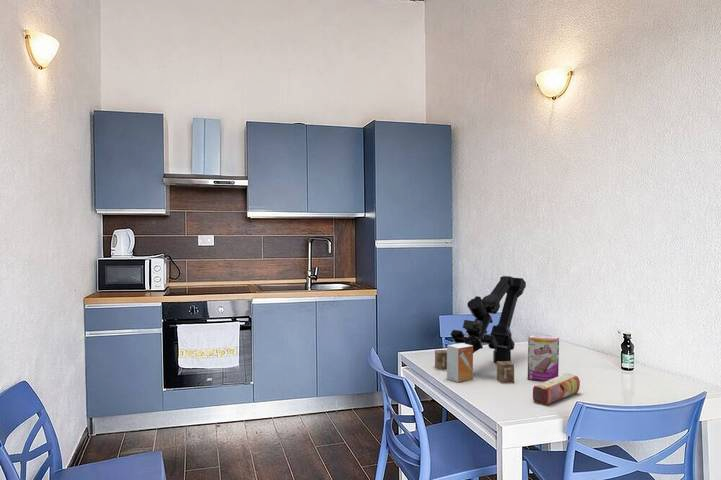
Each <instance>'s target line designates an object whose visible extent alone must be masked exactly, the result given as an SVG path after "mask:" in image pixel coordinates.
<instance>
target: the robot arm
mask: <svg viewBox="0 0 721 480" xmlns="http://www.w3.org/2000/svg"><path fill="white" fill-rule="evenodd" d="M526 285H527V282H526V281H525V280H524V278H522V277H513V276H511V275H503V276H500V278H499V281H498V283H497V284H496V285H495V286H494V288H493V289H492V291H491V292H490V294H488V295H485V296H483V298H482V297H481V296H475V297H474V298H472V299H470V300H469V301H468V302H467V304H466V305H467V308H468V310H469V312H470V313H471V314H472V316H473V317H474V320H469V319H468V320H467V319H463V325H462V329H465V333H464V332H463V331H462V330H458V329H452V330H451V332H450V336H451V338H452V339H453V341H454V343H455V344H459V343H464V344H468V345H472V346H473V354H474V353H476V352H477V351H479V350H482V349H483V348H484V344H488V348H489V349H493V352H492V353H493V354H492V355H493V356H492V361H493V362H494V363H496V364H497V361H510V362H512V360H511V359H512V358H511V357H512V353H511V352H512V351H514V349H515V341H514V340H513V339H512V331H511V329H510V328H511V323H512V321H513V315H514V314H515V308H516V304H517V301H518V298H519V297H520V296H522V295H523V294H524V291H525V289H526V287H527V286H526ZM504 296H505V299H504V302H503V305H502V309H501V314H500V316H499V321H498V323H497V325H493V326H492V329H491V332H490V334H488V331H487V329H488V327H489V324H492V323H494V322H493V318H492V316H491V315H496V314H497V313H499V311H500V308H501V303H500V302H501V300H502V299H503V297H504Z"/></svg>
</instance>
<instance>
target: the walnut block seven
mask: <svg viewBox="0 0 721 480" xmlns="http://www.w3.org/2000/svg"><path fill="white" fill-rule="evenodd" d="M496 380H497V381H498V382H499V383H500V384H514V383H515V364H514V363H513V362H512V361H511V362H510V361H497V363H496Z"/></svg>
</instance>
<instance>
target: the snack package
mask: <svg viewBox="0 0 721 480" xmlns="http://www.w3.org/2000/svg"><path fill="white" fill-rule="evenodd" d="M580 385H581V381H580V378H579V376H578V375H576V374H573V373H569V372H566V373H562V374H561V375H558V377H555V378H553V379H550V380H548V381H542V382H541V383H539V384H536V385H534V386H533V387H532V400H533V401H534V403H536V404H540V405H544V406H547V405H549V404H552V403H554V402H556V401H559V400H562V399H563V398H566V397H568V396H571V395H574V394H577V393H578V392H579V390H580Z"/></svg>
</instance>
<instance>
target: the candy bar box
mask: <svg viewBox="0 0 721 480" xmlns="http://www.w3.org/2000/svg"><path fill="white" fill-rule="evenodd" d="M527 345H528V346H527V349H528V350H527V356H528V357H527V380H531V381H538V382H545V381H548V380H550V379H553V378H555V377H558V376H559V366H560V365H559V364H560V363H559V361H560V358H559V356H560V353H559V352H560V338H559V337H557V336H556V337H555V336H546V335H545V336H544V335H530V334H529V335H528V344H527Z"/></svg>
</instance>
